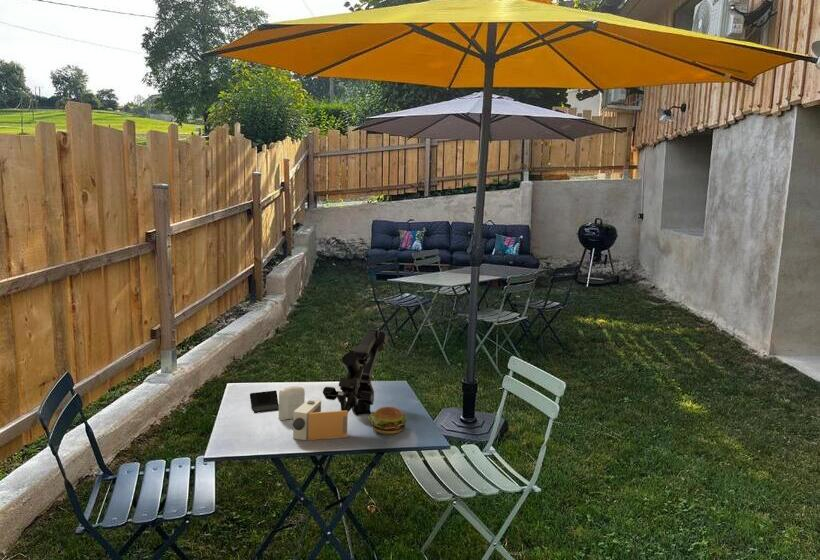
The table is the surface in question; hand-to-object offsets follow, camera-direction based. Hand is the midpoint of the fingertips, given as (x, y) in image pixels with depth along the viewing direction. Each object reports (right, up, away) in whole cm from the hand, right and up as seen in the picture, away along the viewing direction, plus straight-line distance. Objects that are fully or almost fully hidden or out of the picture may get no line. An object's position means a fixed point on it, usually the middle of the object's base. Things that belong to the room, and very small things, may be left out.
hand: (342, 416), depth 226 cm
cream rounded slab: (-22, -4, +15) cm, 27 cm away
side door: (-5, -7, -4) cm, 10 cm away
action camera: (-13, -6, +1) cm, 15 cm away
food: (+16, -7, +8) cm, 19 cm away
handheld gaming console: (-34, -2, +24) cm, 42 cm away
